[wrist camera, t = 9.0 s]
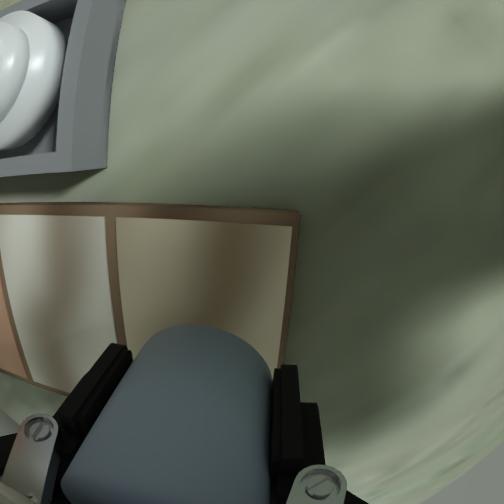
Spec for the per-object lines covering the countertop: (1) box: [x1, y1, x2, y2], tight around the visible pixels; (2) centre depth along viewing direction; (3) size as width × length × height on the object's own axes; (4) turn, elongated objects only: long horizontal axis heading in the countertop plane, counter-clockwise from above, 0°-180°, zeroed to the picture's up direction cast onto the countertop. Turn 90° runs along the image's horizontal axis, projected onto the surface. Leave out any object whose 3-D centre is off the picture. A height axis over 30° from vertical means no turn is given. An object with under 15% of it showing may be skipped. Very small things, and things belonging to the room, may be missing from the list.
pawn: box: [61, 324, 273, 504], centre depth 6 cm, size 5×5×9 cm
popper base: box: [0, 0, 126, 177], centre depth 10 cm, size 9×9×3 cm
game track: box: [0, 202, 300, 396], centre depth 15 cm, size 24×12×1 cm, turn 87°
